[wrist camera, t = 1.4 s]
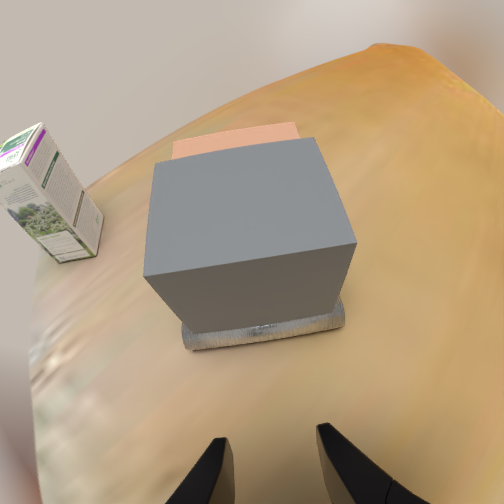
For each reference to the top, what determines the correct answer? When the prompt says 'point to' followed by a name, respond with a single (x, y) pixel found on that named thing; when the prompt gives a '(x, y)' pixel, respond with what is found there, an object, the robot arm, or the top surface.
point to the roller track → (265, 331)
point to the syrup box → (48, 196)
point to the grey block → (247, 236)
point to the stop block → (234, 139)
